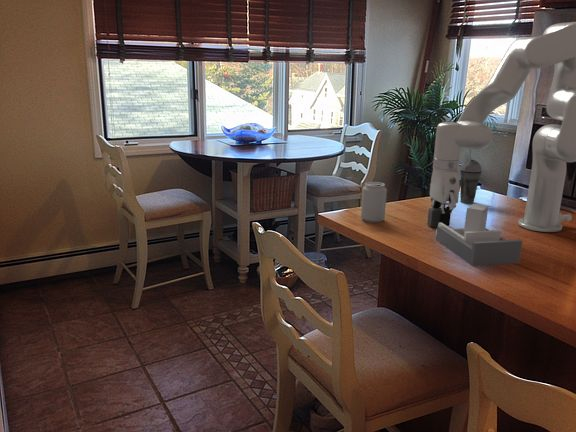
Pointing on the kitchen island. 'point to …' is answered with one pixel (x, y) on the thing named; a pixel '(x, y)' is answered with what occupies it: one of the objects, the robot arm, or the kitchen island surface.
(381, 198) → the can
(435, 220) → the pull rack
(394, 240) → the kitchen island surface
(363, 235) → the kitchen island surface
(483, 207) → the skincare box
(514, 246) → the tray
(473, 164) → the beverage cup
